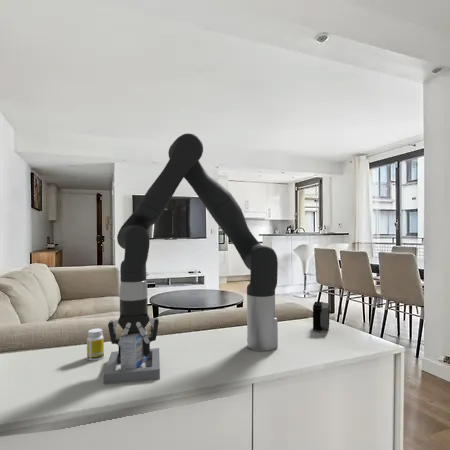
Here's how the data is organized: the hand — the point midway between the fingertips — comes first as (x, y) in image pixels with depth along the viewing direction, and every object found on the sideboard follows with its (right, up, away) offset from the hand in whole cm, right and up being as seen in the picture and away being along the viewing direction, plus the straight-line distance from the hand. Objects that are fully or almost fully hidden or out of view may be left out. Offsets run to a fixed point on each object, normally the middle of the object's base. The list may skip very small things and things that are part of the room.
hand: (134, 356), depth 96 cm
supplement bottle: (-14, -4, +8) cm, 17 cm away
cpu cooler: (+62, -3, +35) cm, 71 cm away
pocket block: (0, -3, 0) cm, 3 cm away
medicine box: (0, -2, 0) cm, 2 cm away
